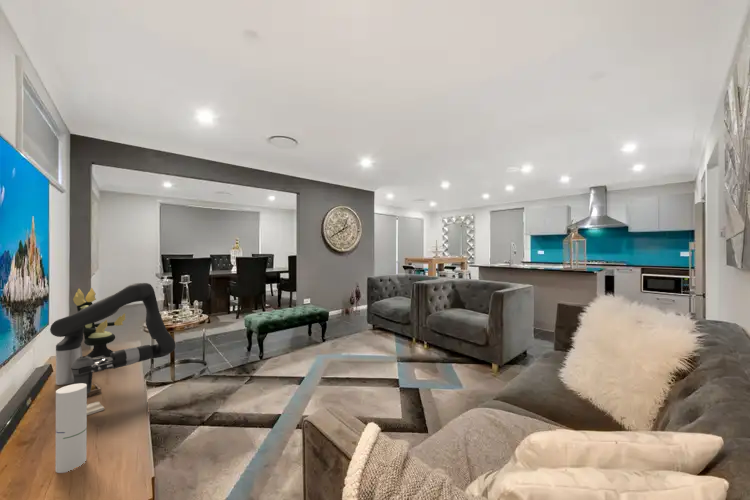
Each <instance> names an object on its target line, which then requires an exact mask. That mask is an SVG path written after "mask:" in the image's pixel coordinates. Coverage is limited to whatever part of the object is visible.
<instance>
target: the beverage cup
mask: <svg viewBox="0 0 750 500" xmlns="http://www.w3.org/2000/svg"><path fill="white" fill-rule="evenodd" d="M80 354H81V357H79V358H78V359H76V360H75V361H74V362H73V364H72V368H71V369H72V373H73V377H74V383H73V384H79V383H84V384H87V394H88V393H90V392H91V386H92V384H93V374H94V373H93V372H94V371H93V372H91V371H89V372H85V373H81V374H79V373H78V369H79V368H82V367H86V366H91V365H94V361H93V359H92V358H91V357H88V356H86V355H85V356H84V355H83V350H82V345H81V346H80Z"/></svg>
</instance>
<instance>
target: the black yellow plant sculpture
mask: <svg viewBox="0 0 750 500" xmlns="http://www.w3.org/2000/svg"><path fill="white" fill-rule="evenodd" d="M96 300H97V298H96V292H95V291H94V289H93V287H91V288H90V290H89V291H88V293H87V294H86V296H85V294H84V292H83V291H82V290H81V289H80V288H78V289H77V292H75V294H74V296H73V299H72V301H73V304H75V305H76V310H77V312H78V311H80V310H82V309H84V308H86V307H88V306H90V305H92V304H93V302H95V301H96ZM124 321H126V313H122V315H119V316H118V317H117V319H116V320H115V321H110V322H109V321H108V319H105V320H104V321H103V322H100V323H95V322H94V323H91V324H88V325H84V331H83V342H84V345H86V346H92V347H93V348H92V350H91V351H90V352H89V353H88V354H86V355H85V356H88V357H91V358H95V357H99V356H104V357H110V354H111V353H112V352H114V351H113V350H112V349H111V348H110V349H109V348H108V346H107V344H109V343H112V342H114V341H115V339H116V335H115V334H114V333H112V332H111V331H106V329H107V328H108V327H113V326H117V327H118V326H123V325H124V324H123V322H124Z"/></svg>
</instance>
